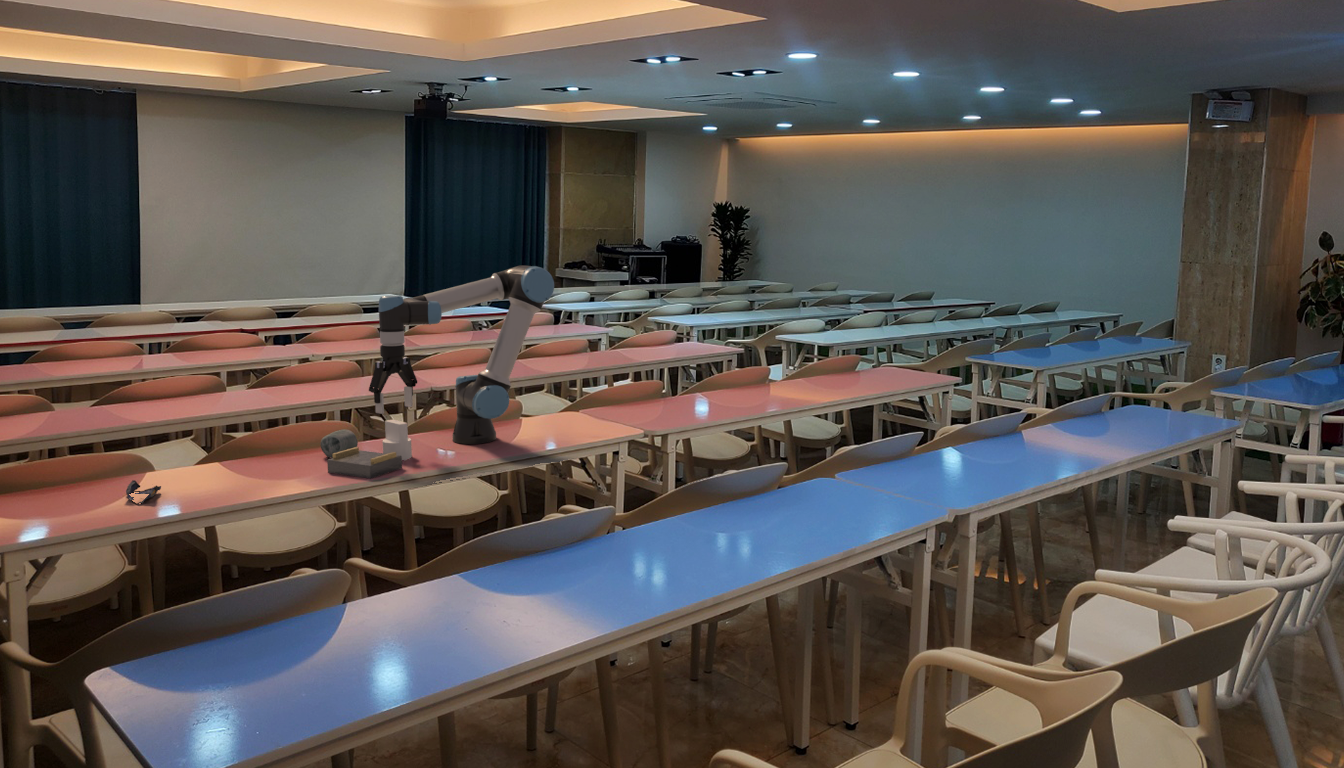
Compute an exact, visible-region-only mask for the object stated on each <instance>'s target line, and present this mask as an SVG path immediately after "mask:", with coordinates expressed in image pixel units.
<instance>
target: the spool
mask: <svg viewBox="0 0 1344 768" xmlns="http://www.w3.org/2000/svg"><path fill="white" fill-rule="evenodd" d="M358 444H359V442H358V438H357V436H356V435H355V433H354V432H353V431H352V430H350V429H340V430H336V431H333V432H331V433H329V434H327V435H324V437H322V438H321V440H320V449H321V451H322V452H323V454H324V455H325V456H326V457H327V458H329V459H332V458H333V453H337V452H340V451H344V450H347V449H351V448H354V447H358Z"/></svg>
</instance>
